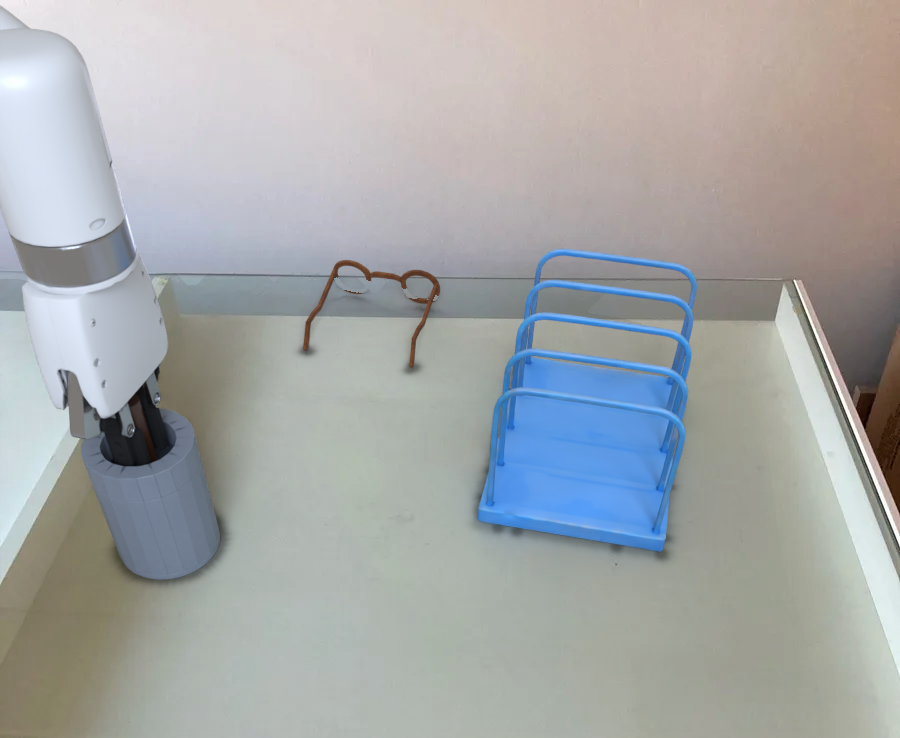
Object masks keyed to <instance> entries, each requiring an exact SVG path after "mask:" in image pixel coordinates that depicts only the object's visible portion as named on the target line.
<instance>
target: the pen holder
mask: <svg viewBox="0 0 900 738" xmlns="http://www.w3.org/2000/svg"><path fill="white" fill-rule="evenodd" d="M158 408H159V410H160V413H161V417H162V420H163V424H164V427H165V430H166V434H167V437H168V441H169V445H168V446H167V448H166V449H162V450H161V449H157V448H155V451H156V454H157V457H158V460H157V461H155V462H153V463H150V464H147V465H142V466H121V465H118V464H116V463H115V461H114V459H113V456H112V453H111V450H110V448H109V445H108V442H107V439H106V436H105V434H104V433H101V435H99V436H97V437H95V438H92V439H90V440H85V439H82V440H83V441H82V443H81V446H80V453H81V459H82V462H83V465H84V466H85V470H86V472H87V475H88V478H89V480H90V483H91V486H92V488H93V490H94V493H95V496H96V498H97V500H98V503H99V506H100V508H101V511H102V513H103V517H104V519H105V521H106V524H107V527H108V529H109V532H110V534H111V537H112V539H113V543H114V545H115V548H116V550H117V552H118V555H119V557H120V559H121V561H122V563H123V564H124V566H125V567H126V568H127V569H128V570H130V572H132V573H133V574H135V575H138V576H140V577H142V578H145V579H151V580H172V579H178V578H182V577H185V576H187V575H190V574H192V573H194V572H196V571H199V570H200V569H201V568H203V567H204V566H205V565H207V564H208V563H209V562H210V561H211V559H213V557H214V556H215V554H216V553H217V551H218V550H219V546H220V543H221V532H220V529H219V525H218V520H217V515H216V513H215V509H214V506H213V505H214V504H213V501H212V497H211V493H210V490H209V486H208V485H209V484H208V481H207V477H206V472H205V469H204V466H203V461H202V458H201V453H200V450H199V445H198V441H197V437H196V434H195V430H194V426H193V425H192V424H191V422H190V421H189V420H188V419H187V417H185V416H183V415H182V414H180V413H178V412H177V411H174V410H171V409H166V408H162V407H158ZM111 417H112V418H116V417H115V414H114V415H112V416H111Z"/></svg>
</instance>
